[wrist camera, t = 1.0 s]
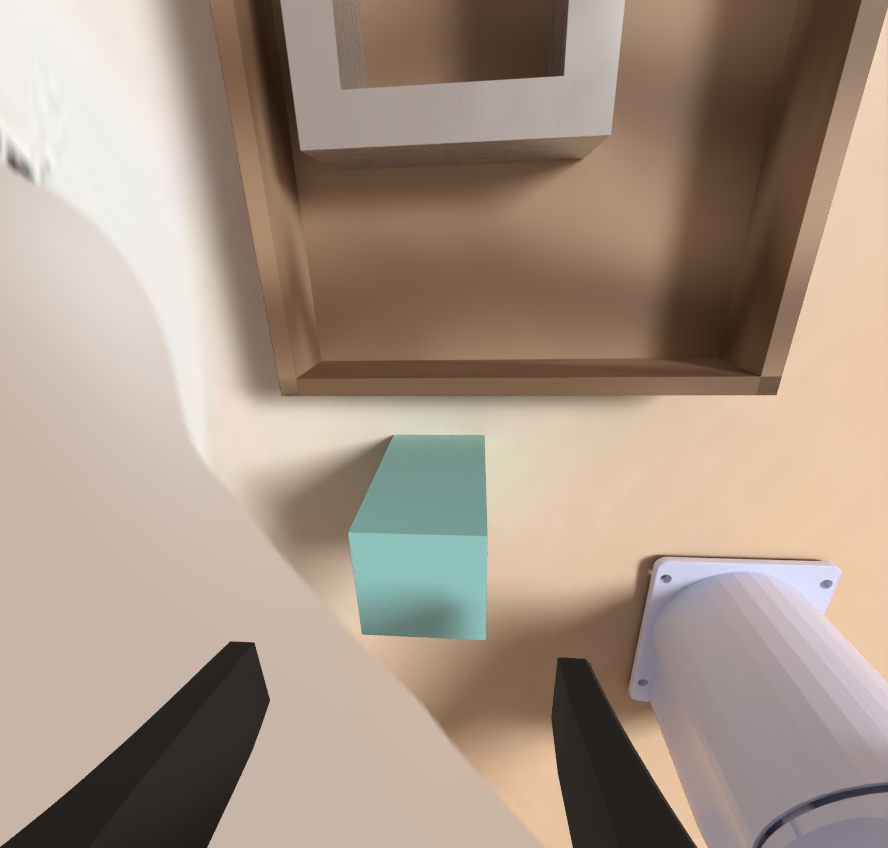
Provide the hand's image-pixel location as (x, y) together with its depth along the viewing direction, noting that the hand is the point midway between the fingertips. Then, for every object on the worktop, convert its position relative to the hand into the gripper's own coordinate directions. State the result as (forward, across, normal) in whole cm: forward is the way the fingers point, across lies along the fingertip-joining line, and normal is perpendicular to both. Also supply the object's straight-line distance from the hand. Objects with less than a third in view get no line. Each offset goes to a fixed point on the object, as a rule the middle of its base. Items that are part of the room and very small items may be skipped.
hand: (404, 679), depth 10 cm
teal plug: (+10, 0, 0) cm, 10 cm away
